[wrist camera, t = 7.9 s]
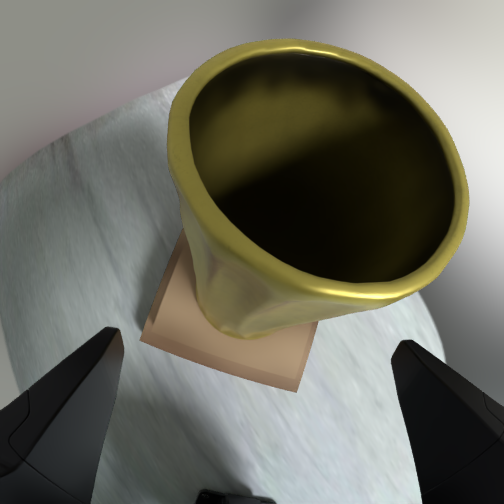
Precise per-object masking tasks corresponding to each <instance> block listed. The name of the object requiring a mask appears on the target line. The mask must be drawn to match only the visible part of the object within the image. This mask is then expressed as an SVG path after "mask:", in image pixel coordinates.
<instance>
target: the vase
mask: <svg viewBox="0 0 504 504" xmlns="http://www.w3.org/2000/svg"><path fill="white" fill-rule="evenodd" d="M167 155H168V167H169V172H170V174H171V177H172V179H173V182H174V184H175V187H176V190H177V193H178V196H179V200H180V214H181V219H182V224H183V228H184V231H185V234H186V237H187V240H188V242H189V246H190V249H191V253H192V258H193V265H194V271H195V275H196V297H197V302H198V305H199V308H200V310H201V312H202V314H203V315H204V317H205V318H206V320H207V321H208V322H209V323H210V324H211V325H212V326H213V327H214V328H215V329H216V330H218V331H219V332H221V333H223V334H225V335H227V336H230V337H233V338H236V339H242V340H254V339H259V338H263V337H266V336H269V335H271V334H273V333H275V332H276V331H279V330H281V329H285V328H289V327H292V326H296V325H299V324H305V323H310V322H315V321H320V320H324V319H329V318H334V317H338V316H342V315H346V314H351V313H356V312H362V311H368V310H374V309H378V308H381V307H385V306H387V305H390V304H392V303H394V302H396V301H399V300H401V299H403V298H405V297H407V296H410V295H412V294H413V293H415V292H417V291H419V290H420V289H422V288H424V287H425V286H427V285H428V284H429V283H431V282H432V281H433V280H435V279H436V278H437V277H438V276H439V274H440V273H441V272H442V270H443V269H444V268H445V266H446V265H447V264H448V262H449V261H450V259H451V258H452V256H453V255H454V254H455V252H456V250H457V249H458V247H459V245H460V243H461V241H462V239H463V236H464V232H465V229H466V224H467V218H468V210H469V190H468V184H467V179H466V175H465V171H464V168H463V165H462V162H461V159H460V156H459V154H458V151H457V149H456V146H455V144H454V141H453V140H452V137H451V135H450V133H449V132H448V129H447V128H446V126H445V125H444V123H443V122H442V121H441V119H440V118H439V116H438V115H437V114H436V113H435V111H434V110H433V109H432V108H431V107H430V105H429V104H428V103H427V102H426V101H425V100H424V99H423V98H422V97H421V96H420V95H419V94H418V93H417V92H416V91H415V90H414V89H413V88H412V87H411V86H410V85H409V84H407V83H406V82H404V81H403V80H402V79H401V78H399V77H398V76H397V75H395V74H394V73H392V72H391V71H389V70H387V69H386V68H384V67H383V66H381V65H379V64H378V63H376V62H374V61H372V60H371V59H368V58H366V57H364V56H362V55H360V54H357V53H354V52H352V51H349V50H346V49H343V48H339V47H336V46H332V45H329V44H324V43H319V42H315V41H307V40H300V39H269V40H263V41H256V42H250V43H245V44H242V45H238V46H235V47H232V48H229V49H227V50H225V51H223V52H221V53H219V54H217V55H216V56H214V57H212V58H211V59H209V60H208V61H207V62H205V63H204V64H202V65H201V66H200V67H199V68H198V69H196V70H195V71H194V72H193V73H192V74H191V76H190V77H189V78H188V79H187V80H186V81H185V83H184V84H183V85H182V87H181V88H180V90H179V91H178V92H177V94H176V96H175V98H174V100H173V101H172V105H171V109H170V113H169V121H168V134H167Z"/></svg>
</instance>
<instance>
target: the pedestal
mask: <svg viewBox="0 0 504 504" xmlns="http://www.w3.org/2000/svg"><path fill="white" fill-rule="evenodd" d="M317 325H318V321H315V322H310V323H305V324H299V325H296V326H292V327H289V328H285V329H281V330H279V331H276V332H275V333H273V334H271V335H269V336H266V337H263V338H259V339H254V340H242V339H236V338H233V337H230V336H227V335H225V334H223V333H221V332H219V331H218V330H216V329H215V328H214V327H213V326H212V325H211V324H210V323H209V322H208V321H207V320H206V318H205V317H204V315H203V314H202V312H201V310H200V308H199V305H198V302H197V297H196V275H195V271H194V265H193V258H192V253H191V249H190V246H189V242H188V240H187V237H186V234H185V231H184V228H183V229H182V231H181V234H180V236H179V238H178V241H177V243H176V246H175V248H174V250H173V253H172V255H171V258H170V260H169V263H168V265H167V268H166V270H165V273H164V275H163V278H162V280H161V283H160V285H159V288H158V291H157V293H156V296H155V299H154V301H153V304H152V307H151V309H150V312H149V315H148V318H147V320H146V323H145V326H144V329H143V332H142V335H141V337H140V341H142V342H144V343H147V344H149V345H152V346H154V347H156V348H159V349H161V350H164V351H166V352H169V353H171V354H174V355H177V356H179V357H182V358H185V359H187V360H190V361H193V362H195V363H198V364H201V365H204V366H207V367H210V368H213V369H216V370H219V371H222V372H225V373H228V374H231V375H234V376H237V377H241V378H244V379H247V380H251V381H254V382H258V383H261V384H265V385H268V386H272V387H276V388H280V389H284V390H288V391H292V392H296V393H297V390H298V387H299V384H300V381H301V378H302V375H303V371H304V368H305V365H306V362H307V359H308V355H309V352H310V349H311V346H312V342H313V339H314V335H315V332H316V328H317Z"/></svg>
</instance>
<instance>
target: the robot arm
mask: <svg viewBox="0 0 504 504" xmlns="http://www.w3.org/2000/svg"><path fill="white" fill-rule="evenodd" d="M123 357H124V345H123V340H122V336H121V332H120V330H119V329H118V328H115V327H105V328H104V329H102V330H101V331H100V332H98V333H97V334H96V335H95V336H93V337H92V338H91V339H89V340H88V341H87V342H86V343H84V344H83V345H82V346H81V347H79V348H78V349H77V350H75V351H74V352H73V353H72V354H70V355H69V356H68V357H67V358H65V359H64V360H63V361H62V362H60V363H59V364H58V365H57V366H55V367H54V368H53V369H52V370H50V371H49V372H48V373H47V374H45V375H44V376H43V377H42V378H41V379H39V380H38V381H37V382H36V383H34V384H33V385H32V386H31V387H30V388H29V390H26V391H25V392H23V393H22V394H21V395H20V396H19V397H17V398H16V399H15V400H14V401H12V402H11V403H10V404H9V405H7V406H6V407H4V408H3V409H2V410H0V504H90V503H91V498H92V493H93V488H94V483H95V478H96V473H97V469H98V464H99V460H100V456H101V451H102V447H103V443H104V439H105V435H106V431H107V428H108V424H109V420H110V417H111V413H112V410H113V406H114V403H115V399H116V395H117V389H118V383H119V378H120V372H121V367H122V362H123ZM391 365H392V370H393V375H394V380H395V385H396V390H397V395H398V400H399V404H400V407H401V411H402V414H403V418H404V422H405V425H406V429H407V433H408V437H409V441H410V445H411V449H412V454H413V458H414V462H415V467H416V472H417V476H418V481H419V487H420V492H421V498H422V504H504V407H503V406H502V405H500V404H499V403H497V402H496V401H494V400H493V399H492V398H490V397H489V396H488V395H487V394H485V393H484V392H482V391H481V390H480V389H479V388H477V387H476V386H474V385H473V384H472V383H471V382H469V381H468V380H467V379H465V378H464V377H463V376H461V375H460V374H459V373H457V372H456V371H454V370H453V369H452V368H450V367H449V366H448V365H446V364H445V363H444V362H442V361H441V360H440V359H438V358H437V357H435V356H434V355H433V354H431V353H430V352H429V351H427V350H426V349H424V348H423V347H422V346H420V345H419V344H418V343H416V342H415V341H413V340H402V341H401V342H400V343H399V345H398V346H397V348H396V350H395V352H394V354H393V355H392V358H391ZM202 494H207V495H208V496H203V495H202ZM195 504H276V503H272V502H265V501H259V500H258V499H254V498H248V497H243V496H238V495H233V494H223V493H219V492H214V491H211V490H206V489H203V490H200V491H199V493H198V496H197V498H196V501H195Z"/></svg>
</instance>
